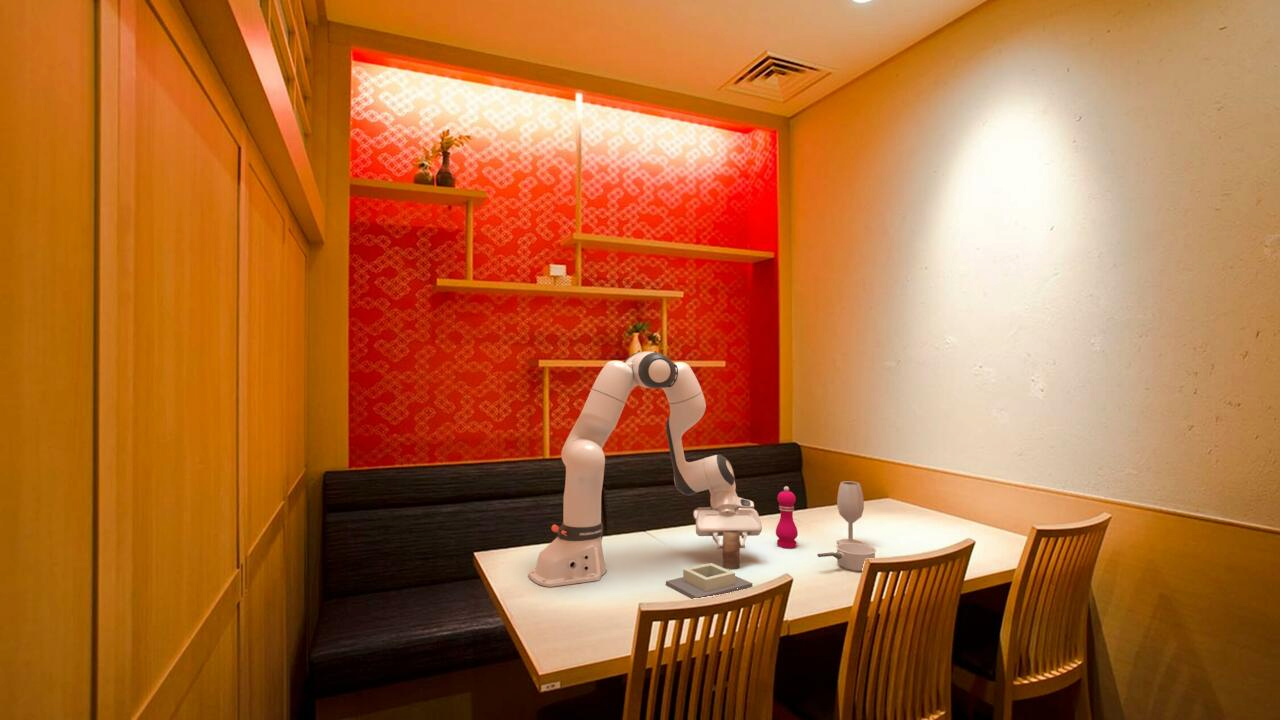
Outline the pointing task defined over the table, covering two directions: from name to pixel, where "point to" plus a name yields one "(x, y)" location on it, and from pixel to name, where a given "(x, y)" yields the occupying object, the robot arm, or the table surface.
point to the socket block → (707, 581)
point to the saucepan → (851, 555)
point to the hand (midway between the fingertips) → (731, 547)
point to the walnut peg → (731, 550)
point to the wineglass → (850, 507)
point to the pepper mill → (786, 520)
